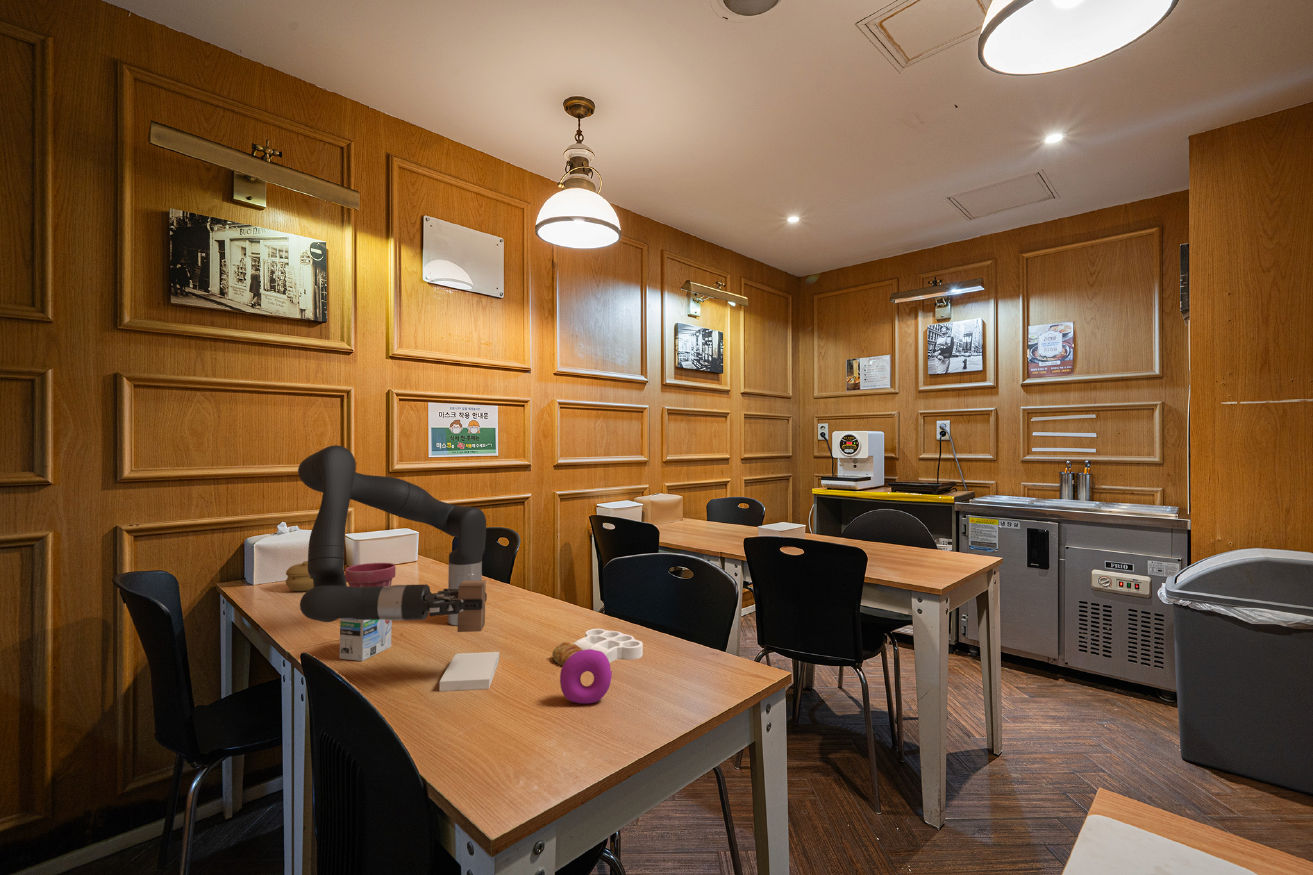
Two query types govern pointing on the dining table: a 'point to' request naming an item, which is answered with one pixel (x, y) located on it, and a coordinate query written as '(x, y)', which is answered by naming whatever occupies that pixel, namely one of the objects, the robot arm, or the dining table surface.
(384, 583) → the plant pot
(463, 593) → the walnut block
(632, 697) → the dining table surface
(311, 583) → the pot
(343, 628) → the light bulb box
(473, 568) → the robot arm
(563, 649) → the pastry
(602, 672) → the donut
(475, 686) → the plastic platform
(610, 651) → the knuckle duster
